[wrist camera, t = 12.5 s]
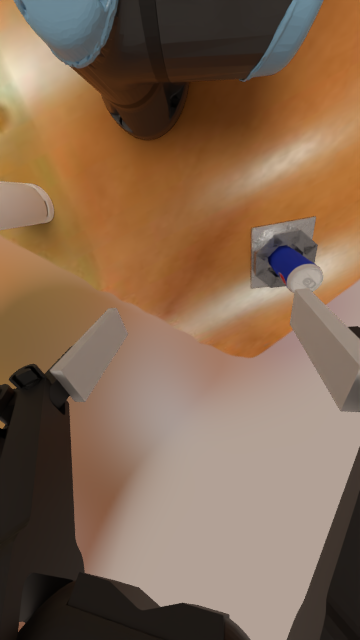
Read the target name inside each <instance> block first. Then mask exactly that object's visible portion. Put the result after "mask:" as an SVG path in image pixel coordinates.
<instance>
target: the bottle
mask: <svg viewBox="0 0 360 640" xmlns="http://www.w3.org/2000/svg"><path fill="white" fill-rule="evenodd" d="M35 189H36V190H35ZM44 201H45V202H46V204H45V202H44ZM46 205H47V208H46ZM47 209H48V215H47ZM53 216H54V207H53V204H52V201H51V199H50V197H49V196H48V194H47V193H46V192H45V191H44V190H43V189H42V188H41V187H39V186H38V185H35V184H30V183H16V182H1V181H0V230H4V229H10V228H17V227H23V226H29V225H36V224H40V223H48V222H50V221H51V220H52V218H53Z"/></svg>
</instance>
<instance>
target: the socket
mask: <svg viewBox="0 0 360 640" xmlns="http://www.w3.org/2000/svg"><path fill="white" fill-rule="evenodd" d="M315 220H316V217H315V216H313V217H307V218H302V219H296V220H291V221H285V222H280V223H275V224H269V225H264V226H258V227H253V228H251V288H260V287H270V288H272V287H282V286H286V285H285V284H284V282H283V281H282V280H281V279H280V277H279V276H278V275H277V274H276V272H275V271H274V270H273V268H272V267H271V266H270V265H269V263H268V257H269V256H270V255H271V254H272V253H273V252H274V251H275V250H276V249H277V248H278V247H279V246H284V245H287V246H289V247H291V248H292V249H294V250H295V251H297V252H298V253H300V254H301V255H303V256H304V257H305V258H307V259H308V260H310V261H311V262H313V263H314V262H315V257H316V251H317V246H318V245H317V244H316V243H315V242H314V241H313V240H312V237H313V231H314V226H315Z"/></svg>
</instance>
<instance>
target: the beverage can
mask: <svg viewBox="0 0 360 640" xmlns="http://www.w3.org/2000/svg"><path fill="white" fill-rule="evenodd" d="M268 263H269V265H270V266H271V267H272V268H273V270H274V271H275V272H276V274H277V275H278V276H279V277H280V279H281V280H282V281H283V282H284V284H285V285H286V286H287V288H288V289H289V290H290V291H291V292H293V293H295V289H304V288H309V289H310V290H311V291H312V292H313V291H315V290H316V289H317V288H318V287H319V286H320V285H321V283H322V281H323V273H322V270H321V269H320V267H319V266H317V265H316V264H314V263H313V262H311V261H310V260H308V259H307V258H305V257H304V256H303V255H301V254H300V253H298V252H297V251H295V250H294V249H292V248H291V247H289V246H287V245H284V246H279V247H278V248H277V249H276V250H275V251H274V252H273V253H272V254H271V255H270V256H269V257H268Z"/></svg>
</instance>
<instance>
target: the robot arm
mask: <svg viewBox="0 0 360 640" xmlns="http://www.w3.org/2000/svg"><path fill="white" fill-rule="evenodd" d="M14 2H15V4H16V6H17V7H18V9H19V11H20V12H21V14H22V15H23V17H24V18H25V20H26V21H27V23H28V24H29V25H30V26H31V28H32V29H33V30H34V31H35V32H36V34H37V35H38V36H39V37H40V38H41V39H42V40H43V41H44V42H45V43H46V44H47V45H48V46H49V48H50V49H51V51H52V52H53V54H54V55H55V56H56V57H57V58H58V59H59V60H61V61H62V62H64V63H65V64H66V65H67V64H68V65H69V66H70V67H71V68H72V69H74V70H75V71H76V72H77V73H78V74H79V75H80V76H82V77H83V78H84V79H85V80H86V81H87V82H88V83H89V84H91V85H92V86H93V87H94V88H95V89H96V90H97V91H99V92H100V94H101V96H102V98H103V101H104V103H105V105H106V107H107V109H108V111H109V112H110V114H111V116H112V117H113V118H114V120H115V121H116V122H117V123H118V124H119V125H120V126H121V127H122V128H123V129H124V130H125V131H127V132H128V133H130V134H131V135H133V136H135V137H137V138H140V139H144V140H151V139H156V138H158V137H161V136H162V135H164V134H165V133H167V132H168V131H169V130H170V129H171V128H172V127H173V125H174V124H175V123H176V121H177V120H178V118H179V116H180V114H181V112H182V110H183V107H184V104H185V101H186V97H187V93H188V87H189V82H193V81H212V80H231V79H239V80H240V81H243V82H245V81H246V80H250V79H251V78H252V77H260V76H268V75H273V74H275V73H277V72H278V71H280V70H281V69H282V68H284V67H285V66H286V65H287V64H288V63H289V62H290V61H291V59H292V58H293V57H294V56H295V54H296V53H297V51H298V49H299V48H300V46H301V45H302V43H303V41H304V39H305V38H306V36H307V34H308V32H309V30H310V28H311V26H312V24H313V22H314V20H315V18H316V16H317V14H318V11H319V9H320V7H321V5H322V3H323V0H14ZM290 325H291V327H292V329H293V330H294V332H295V334H296V335H297V337H298V339H299V341H300V342H301V344H302V346H303V347H304V349H305V351H306V353H307V354H308V356H309V358H310V360H311V361H312V363H313V365H314V367H315V368H316V370H317V372H318V373H319V375H320V377H321V379H322V380H323V382H324V384H325V385H326V387H327V389H328V390H329V392H330V394H331V396H332V398H333V399H334V401H335V403H336V404H337V406H338V408H339V409H340V411H348V412H349V411H350V412H360V327H358V326H356V327H347V326H346V325H345V324H344V323H343V322H342V321H341V320H340V319H339V318H338V317H337V316H336V315H335V314H334V313H333V312H332V311H331V310H330V309H329V308H328V307H327V306H326V305H325V304H324V303H323V302H322V301H321V300H320V299H319V298H318V297H317V296H316V295H315V294H314V293H313V292H312V291H311V290H310V289H309V288H304V289H295V293H294V299H293V306H292V313H291V320H290ZM127 335H128V333H127V331H126V329H125V326H124V324H123V322H122V319H121V317H120V315H119V312H118V310H117V308H110V309H108V310H107V311H106V312H105V313H104V314H103V315H102V316H101V317H100V318H99V319H98V320H97V321H96V322H95V324H93V325H92V327H91V328H90V329H89V330H88V331H87V332H86V333H85V334H84V335H83V336H82V337H81V338H80V339H79V340H78V341H77V342H76V343H75V344H74V345H73V346H71V347H70V348H69V349H68V350H67V351H66V352H65V354H63V355H62V356H61V358H60V359H58V361H57V362H56V363H55V364H54V365H53V366H52V367H51V368H50V369H49V370H48V371H47V372H46V373H45V374H44V373H43V372H42V371H41V370H40V369H39V368H38V366H37V365H35V364H30V365H27V366H24V367H22V368H21V369H19V370H18V371H16V372H15V373H14V374H13V375H12V376H11V377H10V378H9V380H10V381H11V382H12V383H13V384H14V385H15V386H16V387H17V388H16V389H12V388H11V387H10V386H9V385H7V384H3V385H0V420H1V421H2V422H3V423H5V424H6V425H5V426H4V428H3V429H1V428H0V640H250V638H249V637H248V636H247V635H246V633H245V632H244V631H243V630H242V629H241V628H240V627H239V626H238V625H237V624H236V623H234V622H233V621H232V620H231V619H229V614H226V613H223V612H219V611H215V610H212V609H209V608H206V607H202V606H199V605H194V604H187V603H179V604H175V605H169V606H164V607H160V606H159V605H158V604H157V603H156V602H154V601H153V600H152V599H151V598H150V597H149V596H148V595H147V594H145V593H144V592H143V591H142V590H141V589H140V588H139V587H135V586H132V585H129V584H125V583H122V582H118V581H115V580H111V579H107V578H103V577H98V576H94V575H90V574H86V573H84V564H83V559H82V555H81V552H80V550H79V548H78V546H77V543H76V540H75V523H74V501H73V480H72V458H71V437H70V416H69V403H68V401H67V398H68V397H69V396H71V397H72V399H73V400H74V401H76V402H85V401H86V400H87V398H88V397H89V395H90V393H91V392H92V390H93V389H94V387H95V386H96V384H97V382H98V381H99V379H100V378H101V376H102V375H103V373H104V371H105V370H106V368H107V367H108V365H109V363H110V362H111V360H112V358H113V357H114V356H115V354H116V352H117V351H118V349H119V348H120V346H121V345H122V343H123V341H124V340H125V338H126V337H127ZM22 621H23V622H25V625H24V626H23V627H22V628H21V629H20V631H19V632H18V626H19V622H22ZM287 640H360V447H359V450H358V453H357V456H356V459H355V461H354V464H353V467H352V470H351V472H350V475H349V478H348V481H347V483H346V486H345V489H344V492H343V494H342V497H341V500H340V503H339V505H338V508H337V511H336V514H335V517H334V519H333V522H332V525H331V528H330V531H329V533H328V536H327V539H326V541H325V544H324V547H323V550H322V553H321V555H320V558H319V561H318V564H317V567H316V569H315V572H314V575H313V577H312V580H311V583H310V586H309V589H308V591H307V594H306V596H305V599H304V601H303V604H302V605H301V607H300V609H299V611H298V613H297V615H296V618H295V620H294V622H293V625H292V627H291V630H290V632H289V635H288V638H287Z"/></svg>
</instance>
